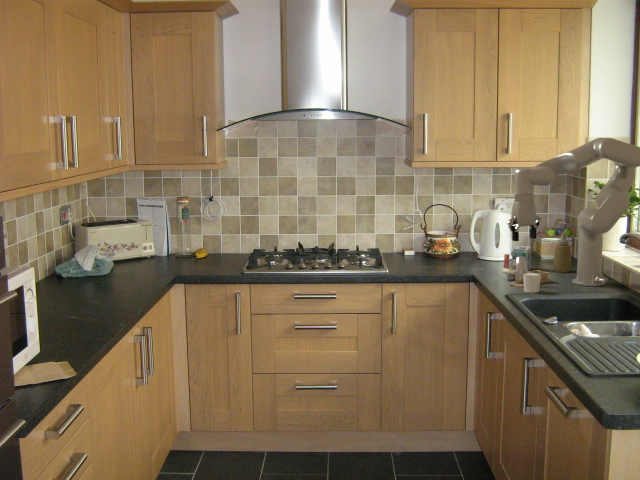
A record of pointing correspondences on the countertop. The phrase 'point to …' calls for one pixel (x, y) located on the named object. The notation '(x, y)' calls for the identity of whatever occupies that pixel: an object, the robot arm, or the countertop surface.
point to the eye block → (542, 275)
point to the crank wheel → (507, 269)
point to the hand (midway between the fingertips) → (524, 239)
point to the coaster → (516, 284)
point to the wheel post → (511, 277)
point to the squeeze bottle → (562, 255)
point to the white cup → (531, 282)
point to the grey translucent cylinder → (520, 270)
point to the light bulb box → (523, 255)
